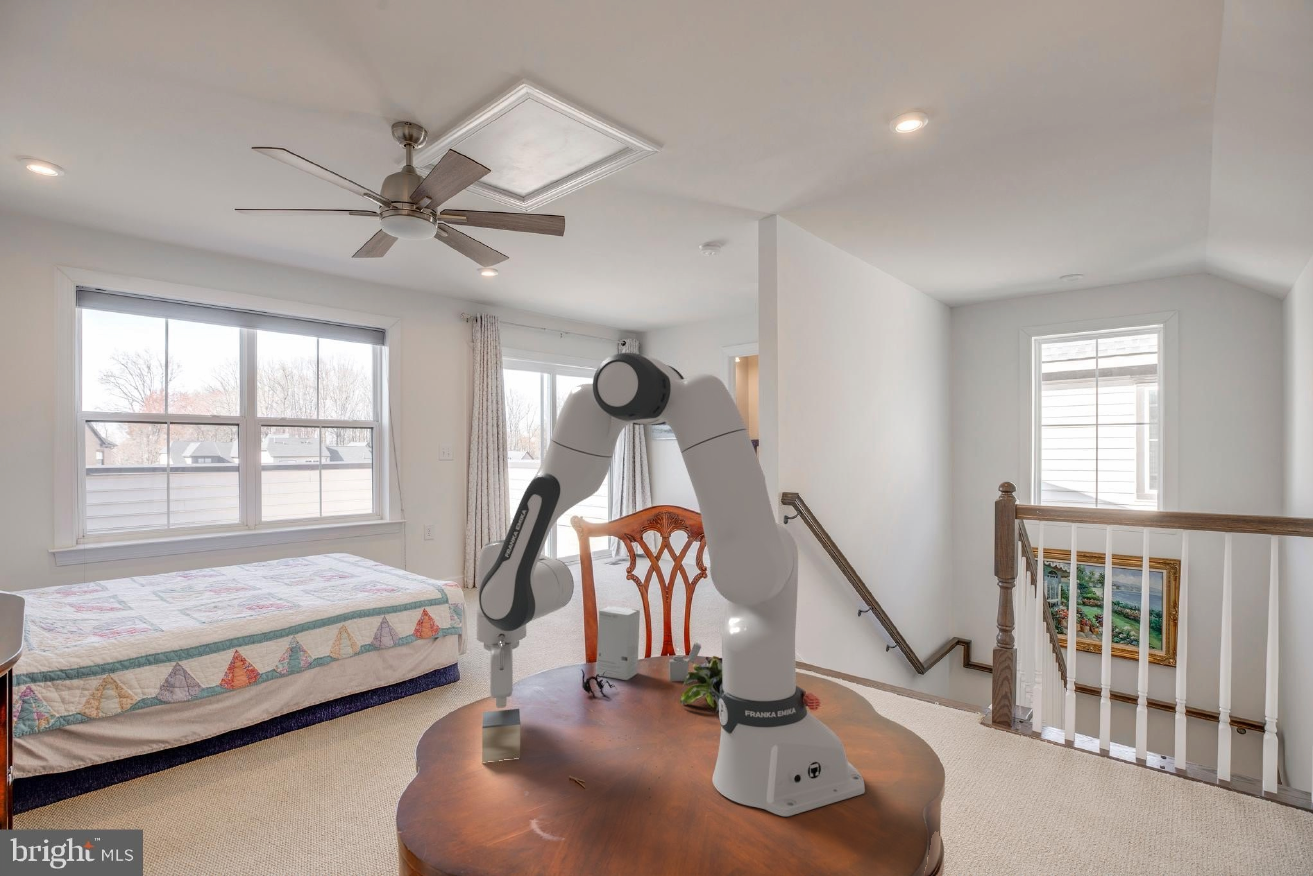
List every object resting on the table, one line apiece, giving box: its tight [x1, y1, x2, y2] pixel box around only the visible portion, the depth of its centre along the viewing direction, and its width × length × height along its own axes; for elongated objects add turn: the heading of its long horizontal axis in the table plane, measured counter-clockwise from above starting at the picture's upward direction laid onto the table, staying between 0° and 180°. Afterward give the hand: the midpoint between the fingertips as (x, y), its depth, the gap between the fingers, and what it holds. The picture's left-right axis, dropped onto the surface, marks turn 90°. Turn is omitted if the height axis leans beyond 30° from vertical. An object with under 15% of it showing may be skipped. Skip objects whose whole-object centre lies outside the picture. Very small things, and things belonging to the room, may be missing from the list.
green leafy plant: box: [679, 655, 722, 715], centre depth 123 cm, size 11×11×12 cm
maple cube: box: [481, 708, 521, 764], centre depth 104 cm, size 6×6×6 cm
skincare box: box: [595, 605, 641, 681], centre depth 142 cm, size 8×6×15 cm
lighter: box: [668, 642, 702, 682], centre depth 139 cm, size 7×2×8 cm, turn 95°
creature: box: [580, 669, 617, 700], centre depth 130 cm, size 8×5×8 cm
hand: (501, 704), depth 112 cm, fingers closed
